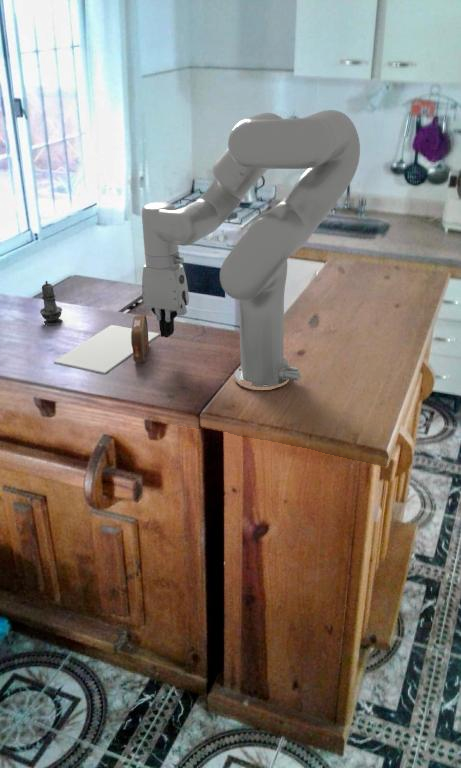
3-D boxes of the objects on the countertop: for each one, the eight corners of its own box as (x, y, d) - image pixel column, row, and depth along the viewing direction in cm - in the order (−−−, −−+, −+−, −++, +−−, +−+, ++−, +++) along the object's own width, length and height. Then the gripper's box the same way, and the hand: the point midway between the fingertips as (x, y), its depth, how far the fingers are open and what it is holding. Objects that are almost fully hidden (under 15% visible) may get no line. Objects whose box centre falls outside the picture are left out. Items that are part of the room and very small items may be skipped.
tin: (144, 368, 166) (143, 335, 162) (131, 368, 166) (129, 335, 162) (149, 340, 179) (148, 309, 175) (136, 340, 179) (135, 309, 175)
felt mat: (159, 334, 183) (159, 333, 183) (105, 373, 164) (105, 372, 164) (111, 326, 189) (111, 324, 189) (53, 362, 170) (53, 361, 170)
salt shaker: (67, 323, 192) (61, 281, 186) (46, 328, 189) (39, 286, 184) (59, 316, 196) (52, 275, 191) (38, 321, 193) (31, 280, 188)
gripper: (199, 259, 158) (202, 334, 166) (143, 250, 164) (148, 324, 172) (183, 269, 152) (187, 346, 160) (124, 260, 158) (131, 335, 166)
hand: (167, 334), depth 166 cm, fingers closed
